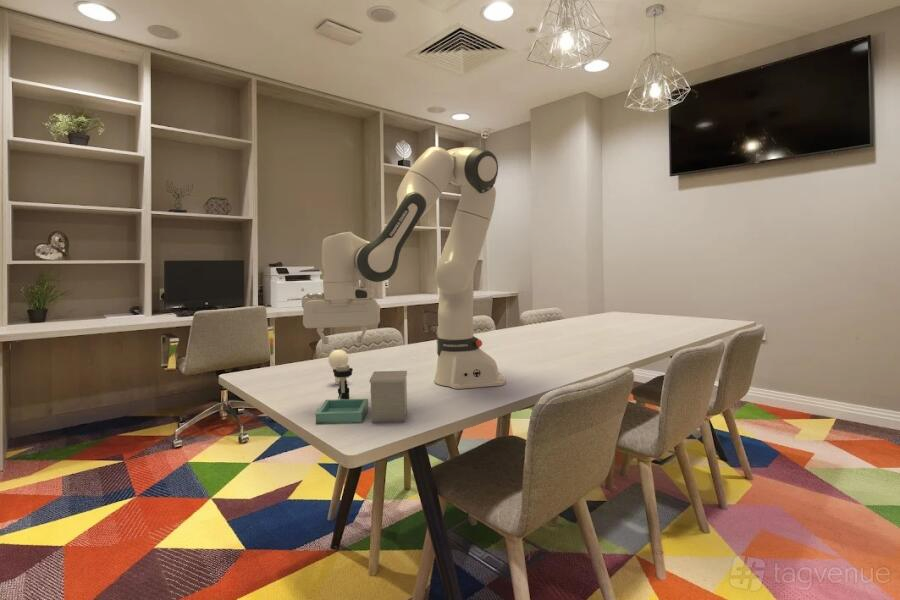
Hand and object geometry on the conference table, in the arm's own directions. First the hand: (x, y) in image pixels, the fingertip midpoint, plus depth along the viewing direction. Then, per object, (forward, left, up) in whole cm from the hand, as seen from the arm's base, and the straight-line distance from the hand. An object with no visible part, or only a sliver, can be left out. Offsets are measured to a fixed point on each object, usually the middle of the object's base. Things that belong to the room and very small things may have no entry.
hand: (343, 343), depth 127 cm
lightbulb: (+6, -20, -17) cm, 26 cm away
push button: (+1, -1, -17) cm, 17 cm away
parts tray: (-1, +10, -17) cm, 20 cm away
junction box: (-13, +12, -17) cm, 25 cm away
